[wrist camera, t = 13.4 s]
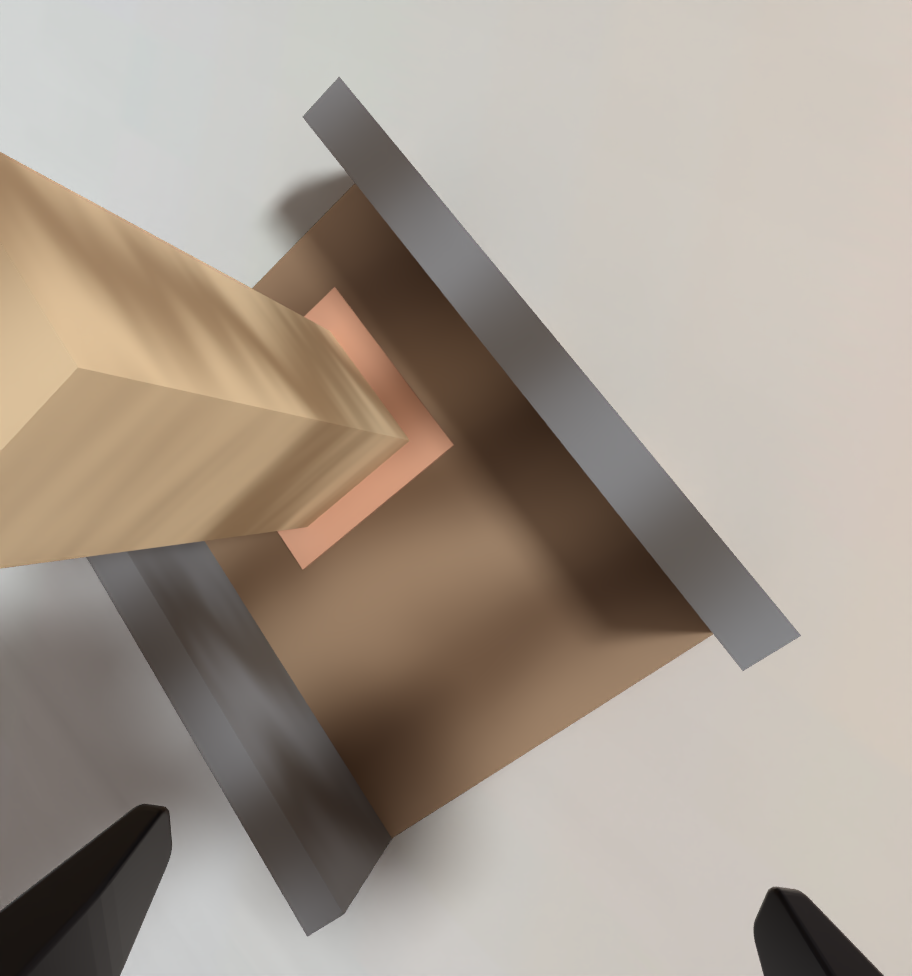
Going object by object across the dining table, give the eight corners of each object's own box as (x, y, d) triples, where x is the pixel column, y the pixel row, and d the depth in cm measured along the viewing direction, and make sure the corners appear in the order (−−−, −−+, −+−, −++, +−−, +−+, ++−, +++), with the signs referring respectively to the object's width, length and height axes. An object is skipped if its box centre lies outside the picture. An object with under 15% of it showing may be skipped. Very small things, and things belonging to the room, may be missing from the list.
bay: (757, 600, 16) (801, 635, 12) (366, 848, 20) (307, 936, 16) (393, 157, 19) (339, 76, 16) (114, 441, 23) (13, 432, 19)
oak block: (409, 440, 19) (78, 367, 7) (307, 526, 20) (-124, 585, 8) (329, 331, 19) (-84, 106, 8) (235, 420, 21) (-246, 336, 9)
